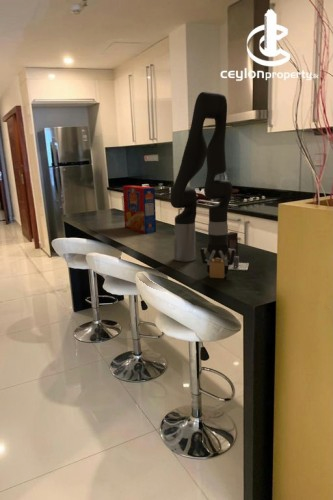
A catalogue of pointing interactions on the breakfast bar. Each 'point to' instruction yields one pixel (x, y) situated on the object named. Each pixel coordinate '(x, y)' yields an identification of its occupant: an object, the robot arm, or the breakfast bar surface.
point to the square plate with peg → (238, 265)
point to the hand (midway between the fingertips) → (217, 273)
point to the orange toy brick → (217, 268)
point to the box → (232, 243)
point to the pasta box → (139, 208)
